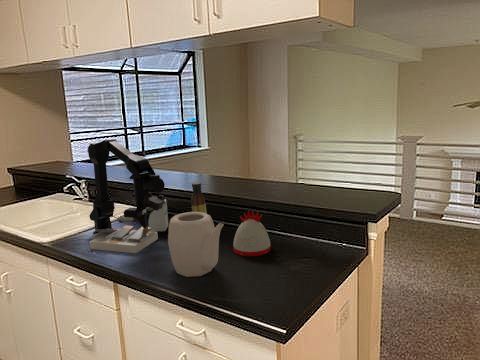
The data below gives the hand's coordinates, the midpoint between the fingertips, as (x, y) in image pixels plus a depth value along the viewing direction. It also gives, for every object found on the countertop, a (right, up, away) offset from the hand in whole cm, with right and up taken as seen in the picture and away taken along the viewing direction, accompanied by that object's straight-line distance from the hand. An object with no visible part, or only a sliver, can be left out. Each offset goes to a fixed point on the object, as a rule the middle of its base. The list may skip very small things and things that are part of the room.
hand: (145, 228), depth 162 cm
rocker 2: (-9, -2, 0) cm, 9 cm away
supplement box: (+2, -3, +18) cm, 18 cm away
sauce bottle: (+20, -2, +18) cm, 28 cm away
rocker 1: (-16, -2, +2) cm, 16 cm away
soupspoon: (-22, 0, +39) cm, 45 cm away
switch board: (-8, -6, +1) cm, 10 cm away
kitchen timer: (+43, -7, -11) cm, 45 cm away
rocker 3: (-1, -2, -3) cm, 4 cm away
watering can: (+24, -11, -29) cm, 39 cm away
